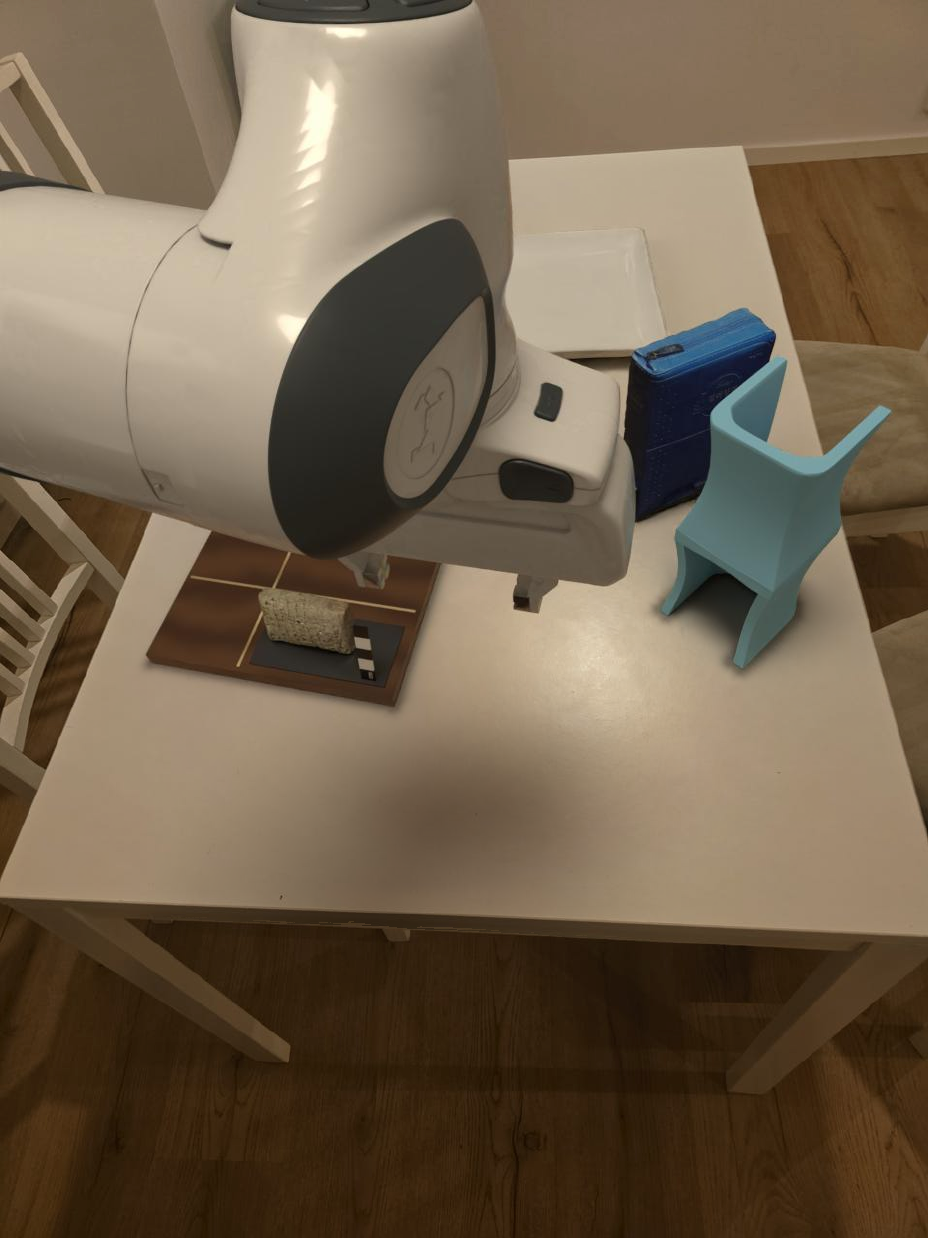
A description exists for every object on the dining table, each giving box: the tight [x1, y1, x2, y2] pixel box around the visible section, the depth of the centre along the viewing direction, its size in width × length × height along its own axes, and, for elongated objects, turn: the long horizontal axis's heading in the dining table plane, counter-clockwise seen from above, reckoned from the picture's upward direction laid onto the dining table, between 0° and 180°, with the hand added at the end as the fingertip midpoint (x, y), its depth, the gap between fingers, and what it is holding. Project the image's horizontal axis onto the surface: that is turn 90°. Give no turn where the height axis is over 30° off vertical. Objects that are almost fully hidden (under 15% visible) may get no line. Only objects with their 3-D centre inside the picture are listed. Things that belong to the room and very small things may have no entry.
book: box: [622, 307, 777, 520], centre depth 81 cm, size 14×5×20 cm, turn 115°
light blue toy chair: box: [659, 354, 893, 670], centre depth 70 cm, size 10×10×25 cm
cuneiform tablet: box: [258, 588, 376, 681], centre depth 77 cm, size 7×4×12 cm
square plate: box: [505, 227, 670, 360], centre depth 107 cm, size 27×27×4 cm
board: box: [145, 530, 441, 707], centre depth 90 cm, size 42×26×2 cm, turn 166°
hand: (450, 590), depth 48 cm, fingers open, 8 cm apart
